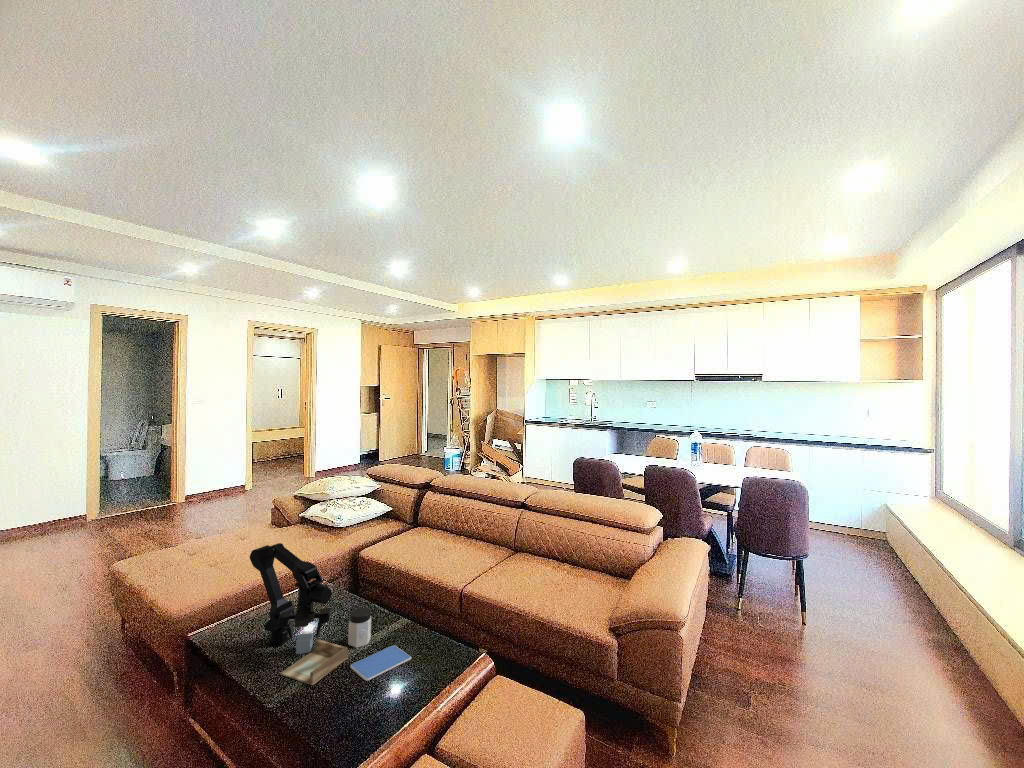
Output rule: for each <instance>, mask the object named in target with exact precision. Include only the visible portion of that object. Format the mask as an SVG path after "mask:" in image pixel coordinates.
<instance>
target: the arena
mask: <svg viewBox="0 0 1024 768" xmlns="http://www.w3.org/2000/svg"><path fill="white" fill-rule="evenodd" d="M348 649H349V648H348V647H347V646H343V645H339V644H336V643H332V642H330V641H327V640H326V641H325V640H322V639H318V638H316V639H315V640H314V650H312V651H310V653H307V654H306V655H305V656H303V657H302V658H299V660H297V661H296V662H294V663H293V664H292V665H290V666H289V667H287V668H286V669H284V670H282V671H281V672H280V676H284V677H287V678H290V679H291V680H292V679H293V680H295V681H298V682H301V683H304V684H306V685H310V686H314V685H315V684H316V683H318V682H319V681H320V680H321V679H323V678H324V677H325V676H327V675H328V674H329V673H330V672H332V671H333V670H335V669H336V668H337V667H338V666H340V665H341V664H342V663H343V662H345V661H346V660H347V659H348Z"/></svg>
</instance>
